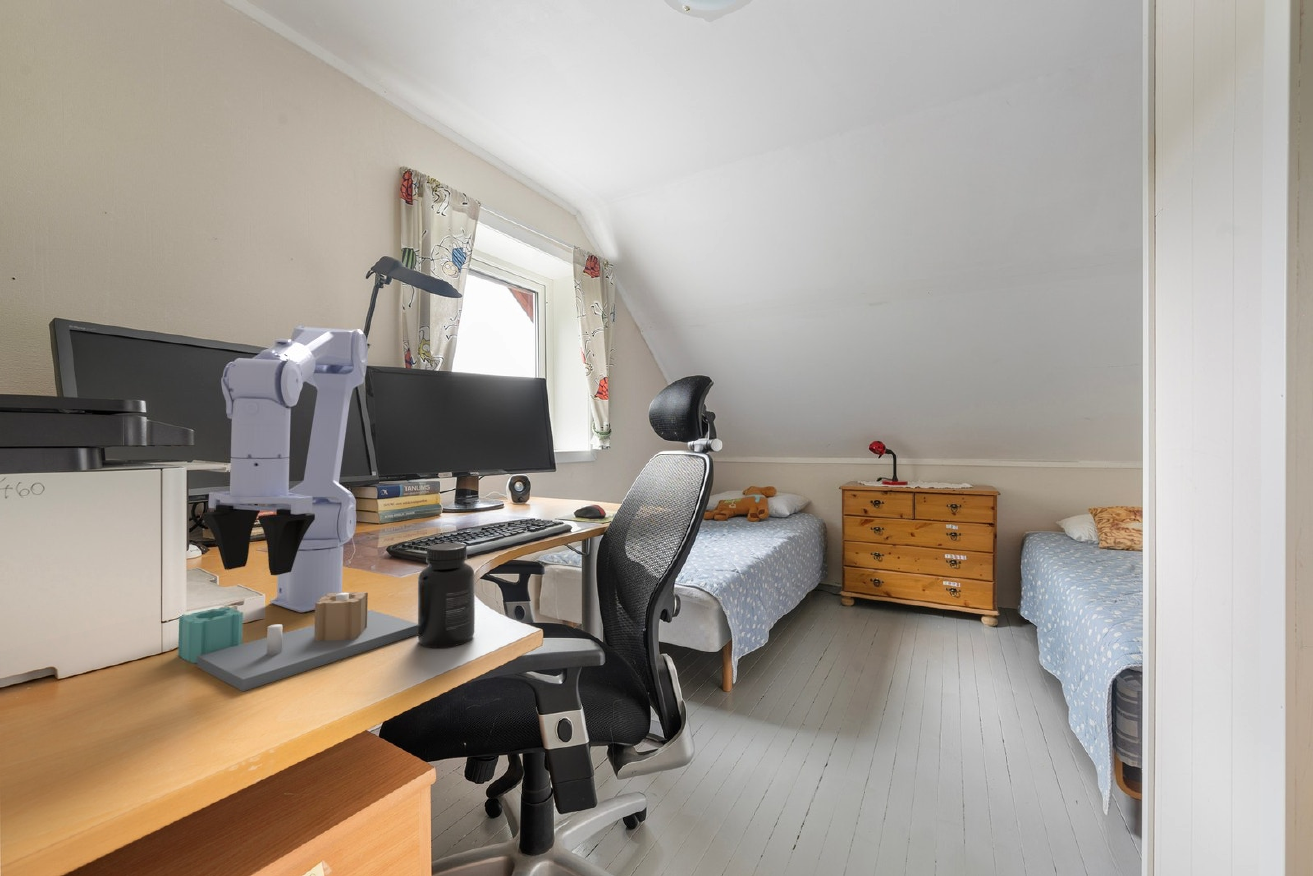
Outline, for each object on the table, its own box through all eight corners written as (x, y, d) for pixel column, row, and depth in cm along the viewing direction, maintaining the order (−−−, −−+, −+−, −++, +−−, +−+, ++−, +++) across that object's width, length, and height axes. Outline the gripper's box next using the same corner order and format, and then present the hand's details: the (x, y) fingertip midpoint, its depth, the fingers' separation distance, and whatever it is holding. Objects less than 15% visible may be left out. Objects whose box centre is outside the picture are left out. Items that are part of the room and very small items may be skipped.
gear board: (196, 666, 60) (198, 611, 60) (371, 618, 77) (372, 575, 77) (242, 691, 54) (244, 630, 54) (419, 633, 71) (420, 587, 71)
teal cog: (175, 655, 63) (176, 616, 63) (225, 642, 67) (227, 606, 67) (193, 664, 60) (194, 624, 60) (244, 650, 64) (245, 612, 64)
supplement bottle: (476, 627, 73) (478, 540, 73) (471, 647, 67) (473, 550, 67) (422, 631, 72) (424, 541, 72) (411, 651, 65) (413, 552, 65)
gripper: (181, 457, 63) (178, 572, 63) (272, 460, 59) (269, 584, 59) (243, 456, 70) (240, 560, 70) (329, 458, 66) (326, 570, 65)
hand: (257, 570), depth 65 cm, fingers open, 7 cm apart
